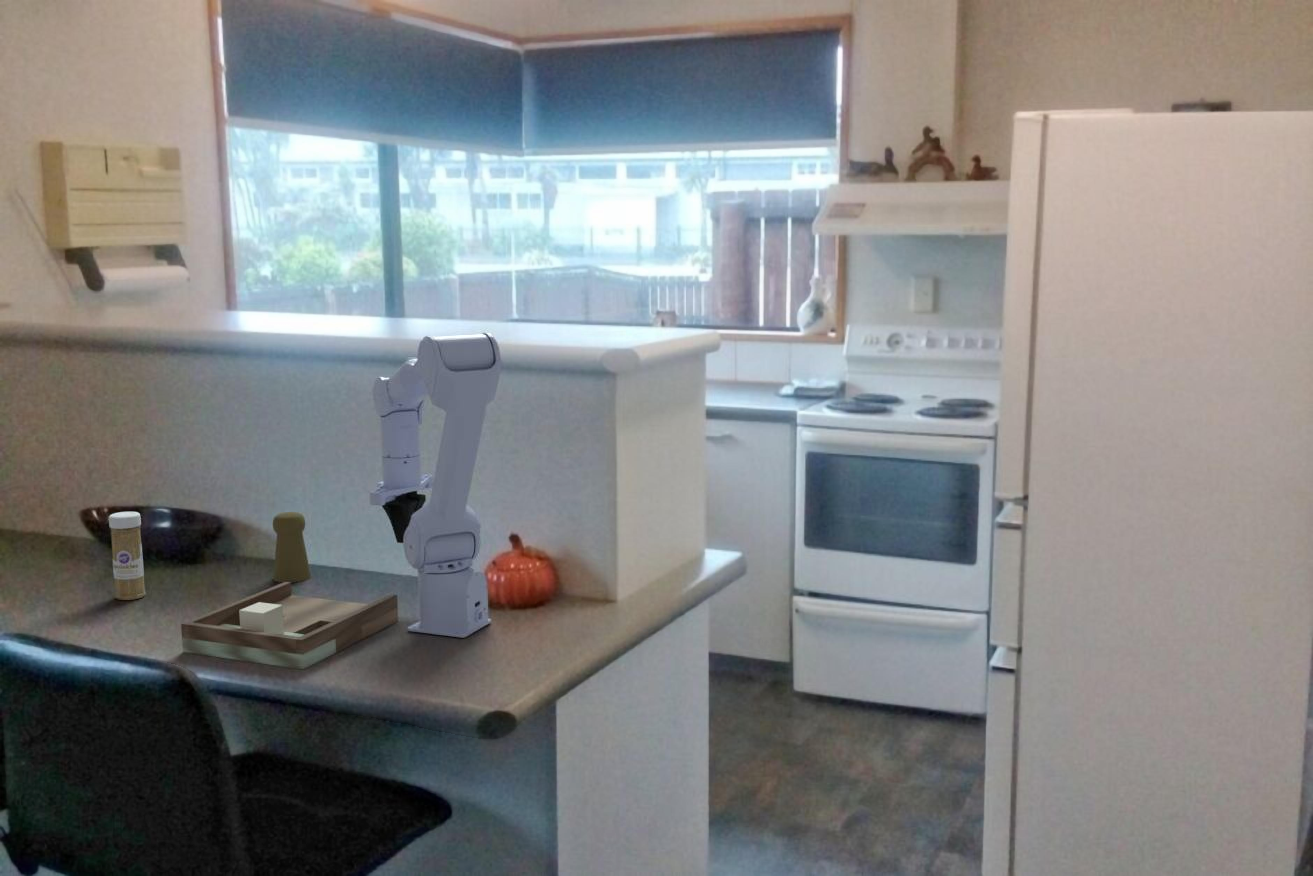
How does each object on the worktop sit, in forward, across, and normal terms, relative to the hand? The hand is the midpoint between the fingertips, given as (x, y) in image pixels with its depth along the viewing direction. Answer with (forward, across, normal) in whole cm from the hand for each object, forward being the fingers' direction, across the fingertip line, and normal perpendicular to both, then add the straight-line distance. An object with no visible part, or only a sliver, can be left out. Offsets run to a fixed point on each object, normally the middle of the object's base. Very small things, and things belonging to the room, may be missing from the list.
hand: (404, 542), depth 190 cm
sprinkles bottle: (+10, +13, -43) cm, 46 cm away
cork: (+10, -5, -26) cm, 28 cm away
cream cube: (+7, +26, -6) cm, 28 cm away
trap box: (+9, +20, -6) cm, 23 cm away
